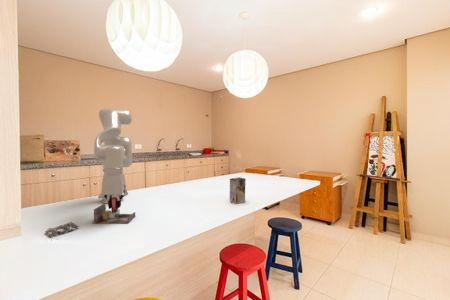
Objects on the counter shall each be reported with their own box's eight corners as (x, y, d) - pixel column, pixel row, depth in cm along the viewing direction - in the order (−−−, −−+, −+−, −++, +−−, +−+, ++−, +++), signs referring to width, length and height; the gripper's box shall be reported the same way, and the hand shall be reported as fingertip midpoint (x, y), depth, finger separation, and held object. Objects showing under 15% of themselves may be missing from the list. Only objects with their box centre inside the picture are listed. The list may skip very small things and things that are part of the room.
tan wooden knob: (100, 221, 104) (100, 213, 103) (104, 218, 108) (104, 210, 107) (108, 221, 104) (108, 213, 104) (112, 218, 108) (112, 210, 108)
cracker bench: (91, 226, 101) (91, 210, 100) (102, 218, 111) (102, 203, 110) (128, 226, 101) (127, 210, 101) (136, 218, 111) (135, 203, 111)
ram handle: (109, 221, 103) (108, 199, 102) (114, 217, 109) (114, 195, 108) (115, 221, 103) (114, 199, 103) (120, 217, 109) (119, 196, 108)
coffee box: (238, 199, 150) (239, 177, 149) (245, 201, 145) (245, 178, 144) (229, 201, 144) (229, 178, 143) (235, 204, 139) (236, 180, 138)
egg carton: (50, 242, 86) (50, 232, 86) (43, 237, 90) (43, 228, 90) (80, 232, 95) (79, 223, 95) (72, 228, 99) (72, 219, 99)
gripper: (92, 172, 100) (93, 210, 101) (127, 172, 101) (128, 210, 102) (101, 169, 108) (101, 205, 109) (133, 170, 109) (134, 205, 110)
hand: (114, 207), depth 106 cm, fingers closed on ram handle, 2 cm apart
